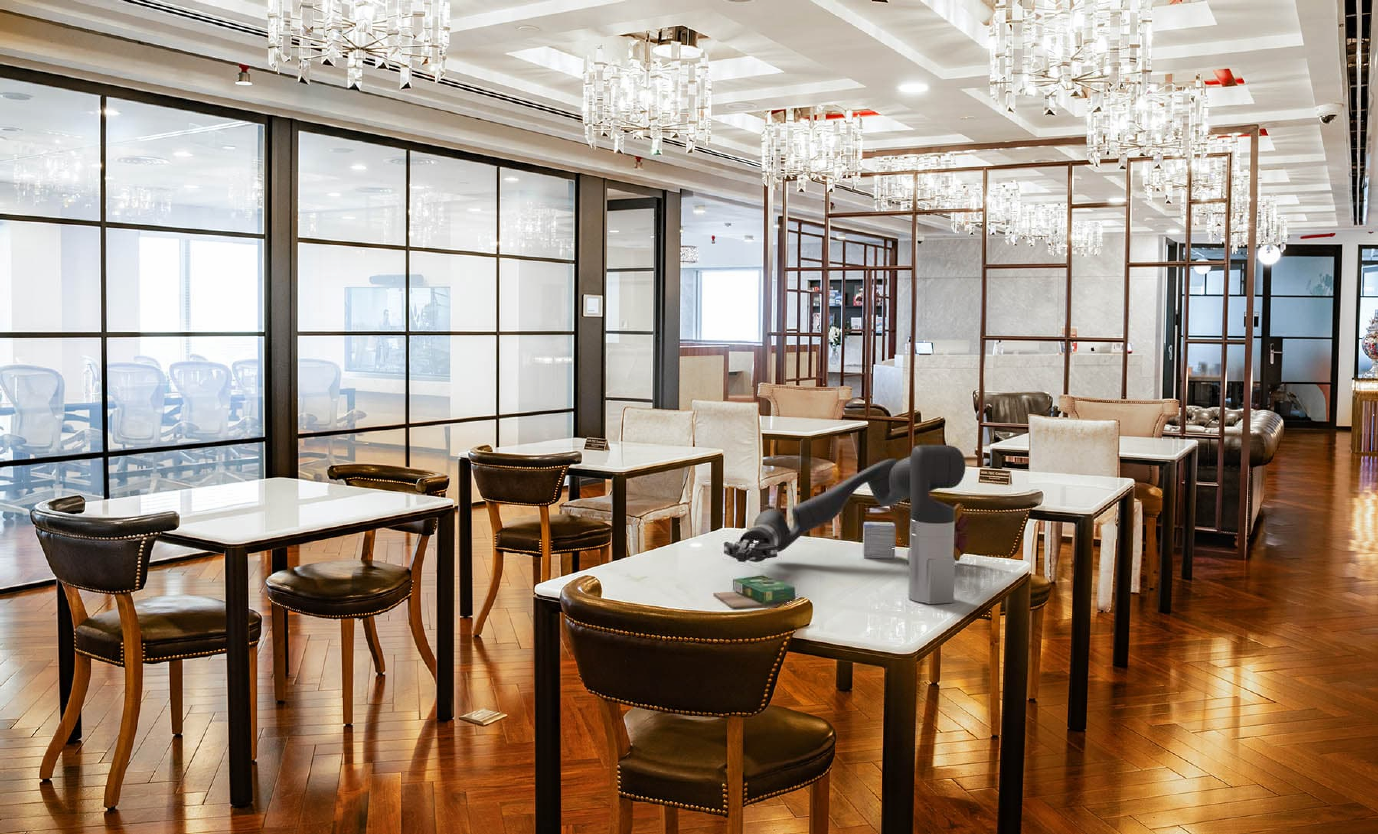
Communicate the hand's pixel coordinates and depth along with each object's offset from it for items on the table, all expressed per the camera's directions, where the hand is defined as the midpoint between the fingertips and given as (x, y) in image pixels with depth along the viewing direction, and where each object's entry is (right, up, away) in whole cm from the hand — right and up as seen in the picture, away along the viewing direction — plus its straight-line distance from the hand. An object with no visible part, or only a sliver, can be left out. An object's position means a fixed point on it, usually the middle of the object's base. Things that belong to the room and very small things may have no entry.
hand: (740, 557), depth 236 cm
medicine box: (+37, -5, +41) cm, 55 cm away
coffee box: (+1, -6, +2) cm, 7 cm away
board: (+3, -8, -5) cm, 10 cm away
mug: (+50, -6, +32) cm, 60 cm away
